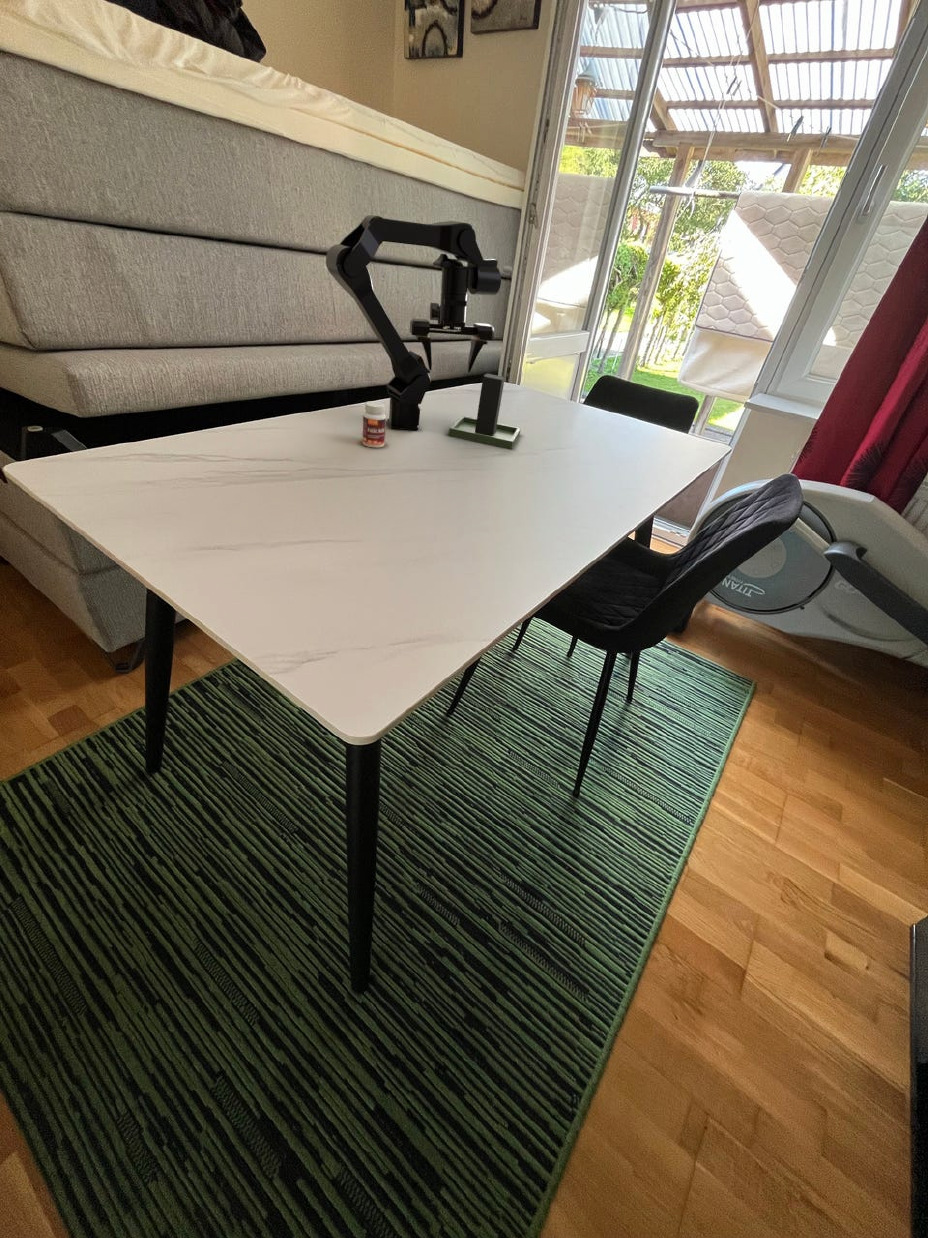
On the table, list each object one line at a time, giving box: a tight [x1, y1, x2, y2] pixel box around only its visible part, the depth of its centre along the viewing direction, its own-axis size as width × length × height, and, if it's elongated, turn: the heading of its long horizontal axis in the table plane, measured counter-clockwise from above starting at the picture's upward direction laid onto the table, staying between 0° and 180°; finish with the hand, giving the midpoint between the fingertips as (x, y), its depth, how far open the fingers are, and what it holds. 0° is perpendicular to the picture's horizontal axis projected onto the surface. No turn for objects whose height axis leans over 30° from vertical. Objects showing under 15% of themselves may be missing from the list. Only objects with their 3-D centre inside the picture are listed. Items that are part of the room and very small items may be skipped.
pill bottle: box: [362, 400, 387, 449], centre depth 109 cm, size 5×5×8 cm
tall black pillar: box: [475, 373, 506, 436], centre depth 124 cm, size 4×4×13 cm
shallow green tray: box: [448, 415, 522, 450], centre depth 127 cm, size 16×13×2 cm
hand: (449, 370), depth 122 cm, fingers open, 9 cm apart
